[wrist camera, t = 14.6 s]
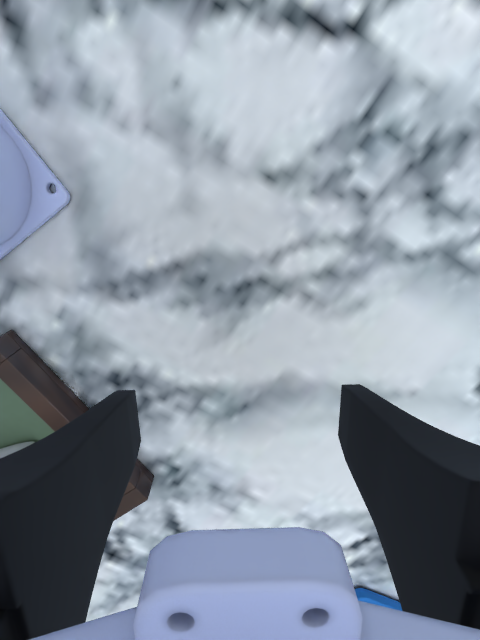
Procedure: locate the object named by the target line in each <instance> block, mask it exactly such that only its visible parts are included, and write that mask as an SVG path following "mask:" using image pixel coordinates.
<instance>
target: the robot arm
mask: <svg viewBox="0 0 480 640" xmlns="http://www.w3.org/2000/svg"><path fill="white" fill-rule="evenodd" d="M52 183H53V184H54V185H55V186H56V192H55V193H52V192H51V191H50V185H51V184H52ZM69 201H70V194H69V192H68V191H67V189H66V188H65V187H64V186H63V185H62V183H61V182H60V181H59V180H58V178H57V177H56V176H55V175H54V174H53V172H52V171H51V170H50V169H49V167H48V166H47V165H46V164H45V163H44V161H43V160H42V159H41V158H40V156H39V155H38V154H37V153H36V152H35V150H34V149H33V148H32V147H31V145H30V144H29V143H28V142H27V141H26V139H25V138H24V137H23V136H22V134H21V133H20V132H19V131H18V130H17V128H16V127H15V126H14V125H13V123H12V122H11V121H10V120H9V119H8V117H7V116H6V115H5V114H4V112H3V111H2V110H1V109H0V260H1V259H2V258H3V257H4V256H5V255H7V254H8V253H9V252H10V251H11V250H13V249H14V248H15V247H16V246H18V245H19V244H20V243H21V242H22V241H24V240H25V239H26V238H27V237H28V236H30V235H31V234H32V233H33V232H34V231H36V230H37V229H38V228H39V227H41V226H42V225H43V224H44V223H45V222H47V221H48V220H49V219H50V218H51V217H53V216H54V215H55V214H56V213H57V212H59V211H60V210H61V209H62V208H63V207H65V206H66V205H67V204H68V203H69ZM338 436H339V440H340V443H341V447H342V450H343V454H344V457H345V460H346V462H347V465H348V467H349V469H350V471H351V474H352V476H353V478H354V480H355V482H356V485H357V487H358V489H359V491H360V493H361V495H362V498H363V500H364V502H365V504H366V506H367V508H368V511H369V513H370V515H371V517H372V520H373V522H374V525H375V527H376V529H377V532H378V535H379V538H380V541H381V544H382V547H383V550H384V553H385V556H386V559H387V562H388V565H389V568H390V572H391V575H392V578H393V581H394V584H395V587H396V590H397V594H398V597H399V601H400V604H401V607H402V611H400V610H395V609H391V608H387V607H383V606H379V605H375V604H370V603H366V602H362V601H358V599H357V596H356V592H355V589H354V586H353V583H352V579H351V576H350V573H349V570H348V566H347V563H346V560H345V557H344V553H343V550H342V547H341V545H340V544H339V543H338V542H336V541H335V540H334V539H332V538H331V537H330V536H329V535H327V534H326V533H325V532H322V531H317V530H311V529H306V528H300V527H290V528H256V529H222V530H191V531H187V532H183V533H179V534H175V535H171V536H167V537H166V538H165V539H163V540H162V541H161V542H160V543H159V544H158V545H156V546H155V547H154V548H153V549H152V550H151V551H150V554H149V558H148V563H147V567H146V571H145V576H144V580H143V584H142V589H141V593H140V597H139V602H138V606H137V607H135V608H131V609H128V610H125V611H121V612H118V613H115V614H112V615H108V616H105V617H102V618H98V619H95V620H92V621H88V622H85V621H86V617H87V612H88V608H89V604H90V600H91V596H92V592H93V588H94V584H95V581H96V577H97V573H98V569H99V565H100V562H101V558H102V555H103V551H104V548H105V544H106V540H107V537H108V534H109V531H110V528H111V526H112V523H113V520H114V518H115V515H116V513H117V510H118V508H119V505H120V503H121V500H122V498H123V495H124V493H125V490H126V488H127V485H128V483H129V480H130V477H131V475H132V472H133V470H134V467H135V463H136V460H137V456H138V451H139V447H140V442H141V437H140V428H139V420H138V411H137V403H136V394H135V390H119V391H116V392H114V393H112V394H111V395H109V396H108V397H106V398H105V399H103V400H102V401H101V402H99V403H98V404H96V405H95V406H93V407H92V408H90V409H89V410H88V411H86V412H85V413H83V414H82V415H80V416H79V417H77V418H76V419H74V420H73V421H71V422H69V423H68V424H66V425H65V426H63V427H61V428H60V429H58V430H57V431H55V432H53V433H52V434H50V435H48V436H46V437H45V438H43V439H41V440H39V441H37V442H35V443H33V444H31V445H29V446H27V447H25V448H23V449H21V450H19V451H16V452H14V453H12V454H9V455H7V456H5V457H2V458H0V640H480V446H479V445H476V444H473V443H470V442H468V441H465V440H463V439H460V438H458V437H455V436H453V435H451V434H448V433H446V432H444V431H442V430H439V429H437V428H435V427H433V426H431V425H429V424H427V423H425V422H423V421H421V420H419V419H417V418H416V417H414V416H412V415H410V414H408V413H407V412H405V411H403V410H401V409H400V408H398V407H396V406H395V405H393V404H391V403H390V402H388V401H387V400H385V399H383V398H382V397H380V396H379V395H377V394H375V393H374V392H372V391H370V390H369V389H367V388H365V387H364V386H362V385H359V384H357V385H342V389H341V403H340V417H339V431H338Z"/></svg>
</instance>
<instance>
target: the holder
mask: <svg viewBox="0 0 480 640" xmlns="http://www.w3.org/2000/svg"><path fill="white" fill-rule="evenodd" d="M88 410H89V409H88V408H87V407H86V406H85V405H84V404H83V403H82V401H81V400H80V399H79V398H78V397H77V396H76V395H75V394H74V393H73V392H72V391H71V390H70V389H69V388H68V387H67V386H66V385H65V384H64V383H63V382H62V381H61V380H60V379H59V378H58V377H57V376H56V375H55V374H54V373H53V372H52V371H51V370H50V369H49V368H48V366H47V365H46V364H45V363H44V362H43V361H42V360H41V359H40V358H39V357H38V356H37V355H36V354H35V353H34V352H33V351H32V350H31V349H30V348H29V347H28V346H27V345H26V344H25V343H24V342H23V341H22V340H21V339H20V338H19V337H18V336H17V335H16V334H15V333H14V331H12V330H10V331H9V332H7V333H5V334H4V335H2V336H1V337H0V449H1V448H5V447H8V446H11V445H15V444H19V443H23V442H30V441H34V442H37V441H39V440H41V439H43V438H45V437H46V436H48V435H50V434H52V433H53V432H55V431H57V430H58V429H60V428H61V427H63V426H65V425H66V424H68V423H69V422H71V421H73V420H74V419H76V418H77V417H79V416H80V415H82V414H83V413H85V412H86V411H88ZM153 478H154V476H153V475H152V474H151V473H150V472H149V470H148V469H147V468H146V467H145V466H144V465H143V464H142V463H141V462H140V461H139V460H138V459H137V460H136V463H135V467H134V470H133V472H132V475H131V477H130V480H129V483H128V485H127V488H126V490H125V493H124V495H123V498H122V500H121V503H120V505H119V508H118V510H117V513H116V515H115V518H114V520H116V519H117V518H119V517H121V516H122V515H124V514H125V513H127V512H129V511H130V510H132V509H133V508H135V507H137V506H138V505H140V504H141V503H143V502H145V501H146V500H147V499H148V496H149V493H150V489H151V485H152V482H153ZM114 520H113V521H114Z"/></svg>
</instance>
